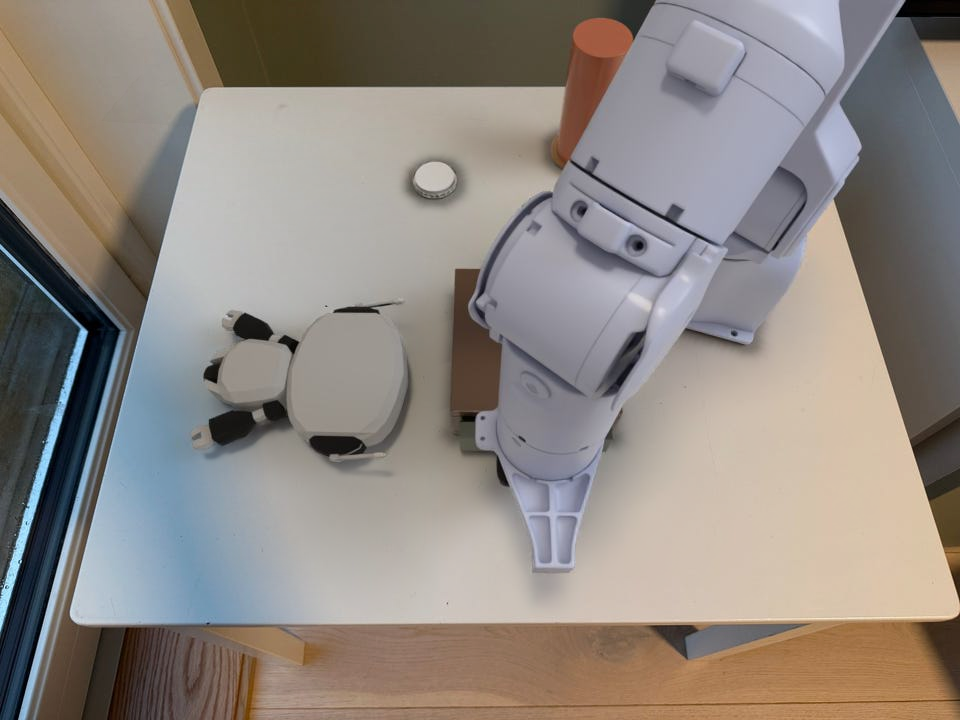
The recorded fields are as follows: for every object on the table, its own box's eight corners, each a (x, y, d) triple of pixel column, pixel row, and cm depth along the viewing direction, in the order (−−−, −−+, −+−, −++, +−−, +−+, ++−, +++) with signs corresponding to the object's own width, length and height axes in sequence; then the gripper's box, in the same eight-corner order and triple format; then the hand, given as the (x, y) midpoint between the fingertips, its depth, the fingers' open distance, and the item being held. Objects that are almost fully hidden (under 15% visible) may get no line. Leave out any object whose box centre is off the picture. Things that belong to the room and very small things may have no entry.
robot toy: (202, 468, 45) (404, 474, 44) (169, 448, 41) (391, 454, 40) (239, 322, 51) (420, 324, 49) (214, 292, 47) (410, 293, 45)
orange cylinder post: (610, 138, 58) (638, 24, 48) (599, 173, 56) (625, 62, 46) (563, 126, 59) (581, 12, 48) (550, 161, 57) (566, 49, 47)
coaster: (616, 138, 59) (616, 135, 58) (602, 181, 56) (603, 178, 56) (559, 125, 59) (559, 121, 59) (543, 166, 57) (543, 163, 57)
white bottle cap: (412, 198, 55) (411, 193, 55) (413, 164, 57) (413, 159, 56) (456, 198, 55) (456, 193, 55) (457, 164, 57) (456, 159, 56)
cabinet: (610, 436, 45) (623, 413, 41) (452, 434, 45) (450, 411, 41) (598, 301, 51) (609, 269, 46) (457, 300, 51) (455, 268, 47)
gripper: (476, 271, 33) (477, 378, 45) (472, 552, 26) (475, 588, 39) (608, 272, 33) (574, 378, 45) (637, 554, 26) (587, 589, 39)
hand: (535, 475), depth 42 cm, fingers closed
